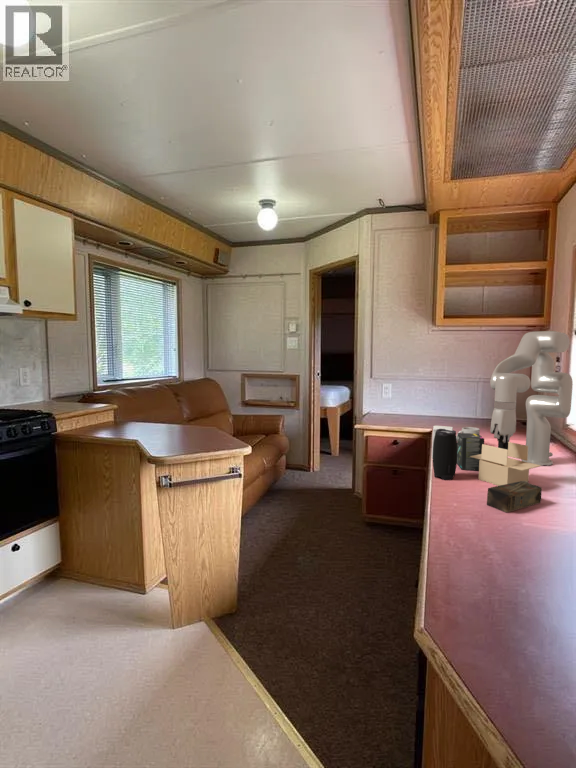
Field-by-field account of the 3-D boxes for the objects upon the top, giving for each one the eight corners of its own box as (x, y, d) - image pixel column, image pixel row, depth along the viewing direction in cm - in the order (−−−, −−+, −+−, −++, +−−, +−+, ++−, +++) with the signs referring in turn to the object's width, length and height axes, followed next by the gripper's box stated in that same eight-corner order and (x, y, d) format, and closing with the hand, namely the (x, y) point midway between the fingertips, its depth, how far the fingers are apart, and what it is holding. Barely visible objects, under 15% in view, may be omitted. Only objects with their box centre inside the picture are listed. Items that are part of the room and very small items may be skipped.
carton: (488, 471, 176) (489, 452, 175) (541, 486, 157) (542, 465, 156) (467, 476, 169) (468, 456, 168) (520, 492, 150) (521, 470, 149)
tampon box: (483, 471, 175) (485, 438, 174) (461, 470, 177) (462, 437, 176) (477, 464, 186) (478, 433, 185) (456, 463, 188) (457, 432, 187)
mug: (479, 446, 222) (480, 428, 221) (477, 449, 214) (478, 430, 213) (458, 443, 228) (459, 425, 227) (455, 446, 220) (456, 428, 219)
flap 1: (482, 444, 163) (482, 444, 163) (508, 449, 154) (507, 449, 154) (481, 458, 163) (481, 458, 163) (507, 465, 154) (506, 465, 154)
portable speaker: (431, 473, 173) (433, 427, 171) (455, 475, 170) (457, 429, 168) (432, 479, 165) (433, 431, 163) (456, 481, 162) (458, 433, 160)
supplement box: (431, 458, 196) (432, 428, 194) (432, 454, 204) (433, 425, 203) (451, 460, 192) (452, 429, 191) (451, 456, 200) (452, 426, 199)
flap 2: (501, 454, 170) (502, 454, 170) (527, 460, 161) (527, 460, 161) (502, 440, 169) (502, 440, 169) (527, 445, 160) (528, 445, 160)
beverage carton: (542, 503, 139) (543, 485, 139) (507, 514, 130) (508, 494, 130) (520, 496, 146) (521, 478, 146) (485, 505, 137) (486, 486, 137)
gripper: (507, 403, 166) (505, 447, 168) (484, 406, 159) (482, 451, 161) (525, 405, 160) (523, 451, 162) (502, 408, 153) (500, 456, 154)
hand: (502, 451), depth 161 cm, fingers closed
